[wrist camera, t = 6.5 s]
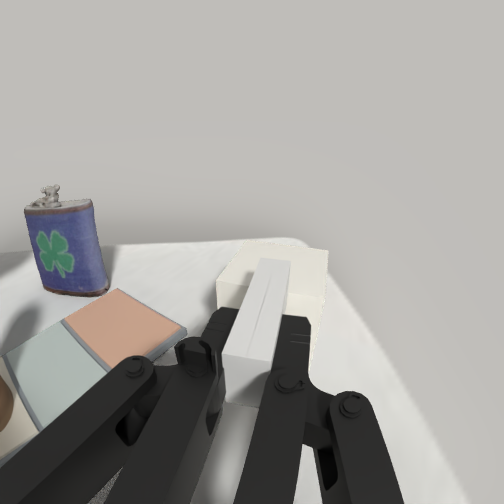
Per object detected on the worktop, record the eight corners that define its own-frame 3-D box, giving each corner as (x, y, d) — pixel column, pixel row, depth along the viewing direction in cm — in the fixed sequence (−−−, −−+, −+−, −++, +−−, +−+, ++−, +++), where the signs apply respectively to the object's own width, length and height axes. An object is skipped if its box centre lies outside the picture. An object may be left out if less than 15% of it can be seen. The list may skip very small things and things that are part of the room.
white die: (220, 355, 18) (215, 280, 15) (245, 305, 23) (246, 239, 21) (308, 372, 17) (325, 297, 14) (317, 317, 22) (328, 250, 19)
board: (-42, 392, 9) (-47, 385, 8) (119, 293, 24) (117, 286, 23) (-13, 481, 4) (-21, 475, 4) (187, 334, 19) (185, 326, 19)
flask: (114, 285, 25) (94, 177, 20) (100, 301, 22) (74, 185, 18) (51, 277, 25) (30, 186, 21) (37, 290, 23) (11, 194, 18)
